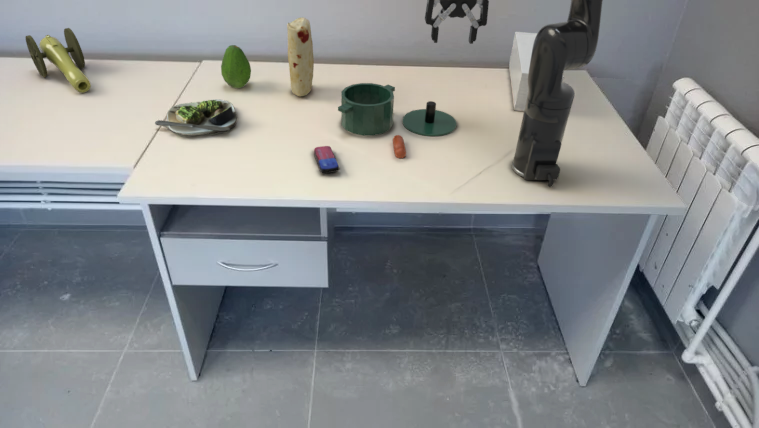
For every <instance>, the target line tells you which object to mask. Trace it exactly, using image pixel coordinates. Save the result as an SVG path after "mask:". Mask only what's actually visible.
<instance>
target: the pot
mask: <svg viewBox="0 0 759 428" xmlns="http://www.w3.org/2000/svg"><path fill="white" fill-rule="evenodd" d="M395 91H396V86H393V85H390V84H386V85H382V84H378V83H373V82H359V83H354V84H350V85H348V86H347V87H346V86H345V87H344V88H343V89H342V90H341V93H340V94H341V97H340V98H341V99H340V100H341V101H340V102H341V105H339V106H338V107H337V111H338V112H340V113H341V117H340V119H341V127H342V128H343V129H344V130H345V131H347V132H349V133H351V134H354V135H359V136H367V137H368V136H369V137H370V136H372V137H373V136H377V135H383V134H385V133H387V132H388V131H390V130H391V128H392V127H393V120H394V107H395V105H394V104H395V93H394V92H395Z"/></svg>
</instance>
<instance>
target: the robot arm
mask: <svg viewBox="0 0 759 428" xmlns="http://www.w3.org/2000/svg"><path fill="white" fill-rule="evenodd" d="M603 1H604V0H570V5H569V12H568V17H567V20H566V21H562V22H561V21H560V22H554V23H548V24H545V25H544V26H542V27H540V29H539V30H538V31H537V35H536V37H535V40H534V44H533V48H532V54H531V61H530V67H529V73H528V96H527V101H526V105H525V110H524V111H523V115H522V119H521V120H522V121H521V124H520V127H519V132H518V136H517V143H516V146H515V152H514V155H513V159H512V162H511V169H512V170H513V172H515V174H517V175H518V176H520V177H522V178H523V179H524V180H525V181H548V185H547V186H548V187H549V188H551V187H553V185H554V181H558V179H559V176H560V173H561V167H560V166H559V165H558V163H557V162H558V159H559V155H560V151H561V148H562V142H563V138H564V135H565V131H566V128H567V124H568V121H569V117H570V113H571V110H572V106H573V103H574V99H575V89H574V88H573V86H571V85H569V83H567V82H564V81H563V82H562V77H563V76H564V72H565V71H571V70H576V69H581V68H583V67H585V66H588V64H589V63H591V61H592V60H593V58H594V56H595V55H596V51H597V47H598V42H599V37H600V28H601V20H602V18H601V17H602V11H603V10H602V9H603V3H604V2H603ZM489 3H490V1H489V0H427V1H426V6H425V13H424V22H425V24H426V25H428V26H431V32H430V37H431V40H432V41H433V44H437V43H438V42H439V41H438V40H439V31H440V28H439V26H440V25H441V23H443V22H444V21H445V20H446V19H447V18H448V17H449V18H452V19H454V18H460V19H464V18H465V17H467V18H468V21H470V23H471V25H470V26H469V35H468V42H469V45H473V44H474V42H476V41H477V36H478V29H479V28H480V27H485V26H487V24H488V14H489ZM438 4H440V6H441V9H440V10H439V11H438V12H437V14H436V15H435V16H434V17H433V11H434V8H435V7H437V6H438ZM476 5H477V6H478V7H479V9H480V12H479V18H478V19H476V17H475V16H474V14H473V12H472V10H473V9H474V8H475V6H476Z"/></svg>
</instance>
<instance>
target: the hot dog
mask: <svg viewBox="0 0 759 428" xmlns="http://www.w3.org/2000/svg"><path fill="white" fill-rule="evenodd" d="M392 146H393V151H394V156H395V158H397V159H404V158H405V157H406V155H407V151H406V145H405V140H404V137H403V136H402V135H400V134H397V135H394V136H393V138H392Z"/></svg>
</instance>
